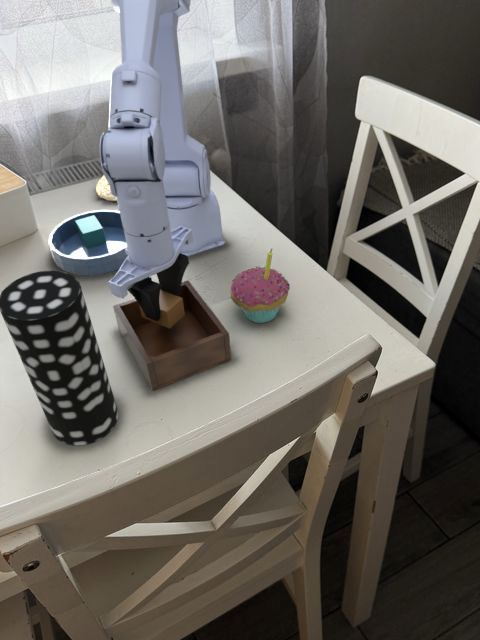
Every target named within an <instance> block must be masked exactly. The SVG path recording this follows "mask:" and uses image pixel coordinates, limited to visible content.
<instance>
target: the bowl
mask: <svg viewBox="0 0 480 640" xmlns="http://www.w3.org/2000/svg"><path fill="white" fill-rule="evenodd" d="M93 215H94V216H95V217H96V219H97V220H98V222H99V223H100V225H101V226H102V228H103V231H104V235H105V239H106V243H104V244H101V245H98V246H94V247H91V248H88V249H87V248H86V246H85V244H84V243H83V241H82V239H81V238H80V236H79V233H78V230H77V226H76V223H75V220H79V219H83V218H86V217H90V216H93ZM47 243H48V247H49V250H50V253H51V256H52V260H53V261H54V263H55V265H56V266H57V267H58V268H59V269H61V271H63V272H66V273H69V274H71V275H79V276H97V275H103V274H109V273H113V272H115V271H118V270H119V269H120V267H121V265H122V264H123V262H124V261H125V259H126V258H127V256H128V255H127V254H126V253H125V248H127V243H126V238H125V234H124V229H123V225H122V220H121V216H120V211H119V210H115V209H99V210H98V209H97V210H90V211H85V212H82V213H78V214H75V215H73V216H70V217H68V218H66V219H64V220H62V221H60V223H59V224H57V225H56V226H55V227H54V228H53V229H52V231H51V232H50V233H49V235H48V241H47Z"/></svg>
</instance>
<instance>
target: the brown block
mask: <svg viewBox="0 0 480 640" xmlns="http://www.w3.org/2000/svg"><path fill="white" fill-rule="evenodd" d="M159 304H160V312H161V314H160V319H159V320H158V321H155V320H152V319H150V318H147V317H146V316H145V314H144V312H143V310H142V308H141V306H140V305H139V307H140V311H141V315H142V317H143V318H145V319H147V320H150V321H152V322H155V323H157V324H159V325H162V326H164V327H167V328H169V329H170V328H171V327H172V326H173V325H174V324H175V323H176V322H178V321H179V320H180V319H181V318H182V317H183V316H184V315H185V312H184V305H183V299H182V298H181V297H178V296H176V295H173V294H171V293H168V292H165V291H163V290H160V296H159Z"/></svg>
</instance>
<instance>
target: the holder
mask: <svg viewBox="0 0 480 640" xmlns="http://www.w3.org/2000/svg"><path fill="white" fill-rule="evenodd" d="M179 297H181V298H182V299H183V305H184V312H185V315H184V316H183V317H182V318H181V319H180V320H179V321H178V322H176V323H175V324H174V325H173V326H172V327H171V328H170V329H169V328H167V327H164V326H162V325H159V324H157V323H155V322H152V321H150V320H147V319H145V318H143V317H142V315H141V311H140V307H139V303H138V302H137V300H136V299H135V298H134V297H133V298H132V299H131V298H130V299H128V300H125V301H123V302H120V303H116V304H114V305H112V309H113V312H114V315H115V316H114V317H115V320H116V323H117V327H118V331H119V333H120V335H121V337H122V339H123V341H124V342H125V344H126V346H127V348H128V349H129V351H130V353H131V354H132V357H133V359H134V361H135V362H136V364H137V366H138V368H139V369H140V371H141V373H142V374H143V377H144V379H145V380H146V382H147V384H148V386H149V387H150V388H151V390H152V392H154V391H157V390H159V389H162V388H164V387H167V386H170V385H171V384H174V383H177V382H179V381H183V380H185V379H187V378H190V377H193V376H195V375H197V374H200V373H202V372H205V371H207V370H210V369H213V368H215V367H218V366H220V365H223V364H225V363H228V362H231V361H232V351H231V341H230V333H229V331H228V330H227V328H226V327H225V326H224V324H223V323H222V322H221V321H220V320H219V318H218V317H217V316H216V314H215V313H214V311H213V310H212V308H210V306H209V305H208V303H206V301H205V299H203V298H202V296H201V295H200V293H199V292H198V291H197V289H196V288H195V287H194V286H193V284H192V283H191V282H190V280H189V279H187V280H184V281H182V282H181V288H180V294H179Z"/></svg>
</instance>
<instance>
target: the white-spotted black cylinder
mask: <svg viewBox="0 0 480 640" xmlns="http://www.w3.org/2000/svg"><path fill="white" fill-rule="evenodd" d="M0 314H1V316H2V319H3V321H4V323H5V325H6V327H7V331H8V332H9V335H10V337H11V339H12V342H13V344H14V346H15V348H16V349H15V350H16V351H17V353H18V356H19V358H20V360H21V363H22V365H23V367H24V370H25V372H26V374H27V377H28V379H29V381H30V384H31V386H32V388H33V390H34V392H35V395H36V397H37V399H38V403H39V405H40V407H41V409H42V412H43V414H44V416H45V418H46V421H47V424H48V425H49V428H50V430H51V432H52V435H54V436H53V437H55V438H56V439H57V440H58V441H60V442H61V443H63V444H66V445H70V446H85V445H90V444H93V443H96V442H97V441H99V440H101V439H103V438H104V437H106V436H107V435H108V434H110V432H111V431H112V430H113V429H114V428H115V427H116V424H117V422H118V419H119V410H118V406H117V402H116V399H115V396H114V392H113V390H112V386H111V382H110V380H109V376H108V373H107V370H106V366H105V363H104V359H103V356H102V353H101V350H100V346H99V343H98V339H97V336H96V333H95V329H94V326H93V323H92V320H91V316H90V313H89V309H88V306H87V302H86V299H85V297H84V293H83V289H82V286H81V283H80V281H79V280H78V278H77V277H76V276H74V274H72V273H69V272H66V271H63V270H41V271H36V272H32V273H29V274H26V275H22V276H21V277H19V278H17V279H15V280H14V281H12V282H11V283H9V284H8V285H7V286H6V287H5V288H4V289H3V290H2V291H1V292H0Z"/></svg>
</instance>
